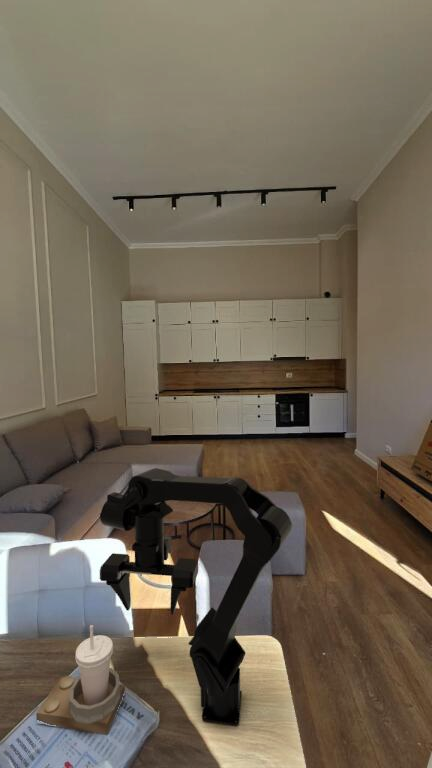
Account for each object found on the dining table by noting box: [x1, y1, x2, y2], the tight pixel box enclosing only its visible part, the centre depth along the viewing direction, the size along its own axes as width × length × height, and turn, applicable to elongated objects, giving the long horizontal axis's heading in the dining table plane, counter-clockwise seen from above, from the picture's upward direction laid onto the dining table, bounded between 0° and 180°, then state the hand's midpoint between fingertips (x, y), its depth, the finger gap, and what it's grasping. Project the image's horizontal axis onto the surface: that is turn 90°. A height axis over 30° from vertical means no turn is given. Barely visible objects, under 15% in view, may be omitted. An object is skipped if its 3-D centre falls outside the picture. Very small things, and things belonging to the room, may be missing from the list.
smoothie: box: [75, 624, 114, 706], centre depth 64 cm, size 6×6×14 cm
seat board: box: [35, 667, 126, 735], centre depth 65 cm, size 13×8×4 cm, turn 81°
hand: (150, 611), depth 72 cm, fingers open, 9 cm apart
